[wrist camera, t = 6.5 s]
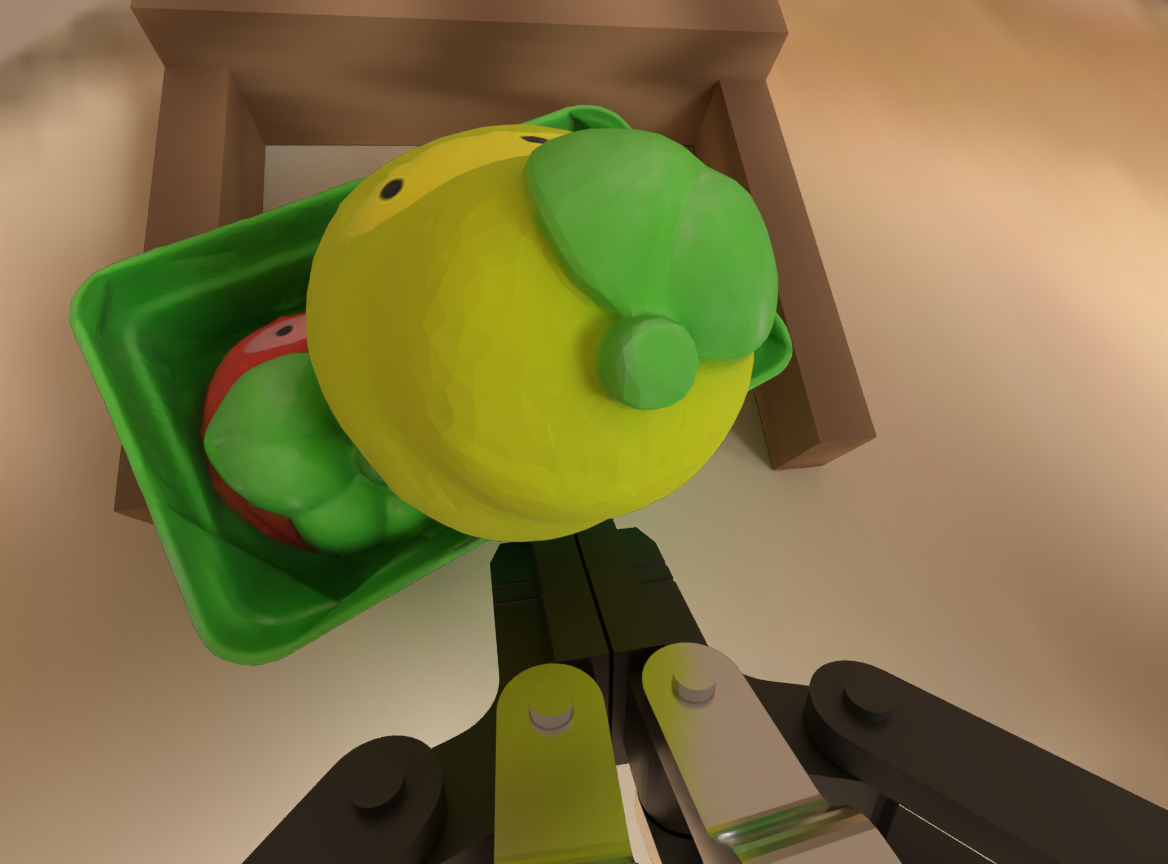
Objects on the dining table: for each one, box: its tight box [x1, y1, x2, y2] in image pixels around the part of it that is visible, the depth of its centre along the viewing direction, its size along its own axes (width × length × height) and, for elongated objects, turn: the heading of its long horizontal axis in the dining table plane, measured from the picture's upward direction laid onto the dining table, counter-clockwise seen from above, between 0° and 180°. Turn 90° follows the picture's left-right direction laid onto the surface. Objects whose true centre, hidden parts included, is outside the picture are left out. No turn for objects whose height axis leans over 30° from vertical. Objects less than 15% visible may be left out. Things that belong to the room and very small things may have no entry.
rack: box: [114, 0, 876, 524], centre depth 15 cm, size 16×14×4 cm
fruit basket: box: [70, 105, 792, 666], centre depth 10 cm, size 11×9×11 cm
